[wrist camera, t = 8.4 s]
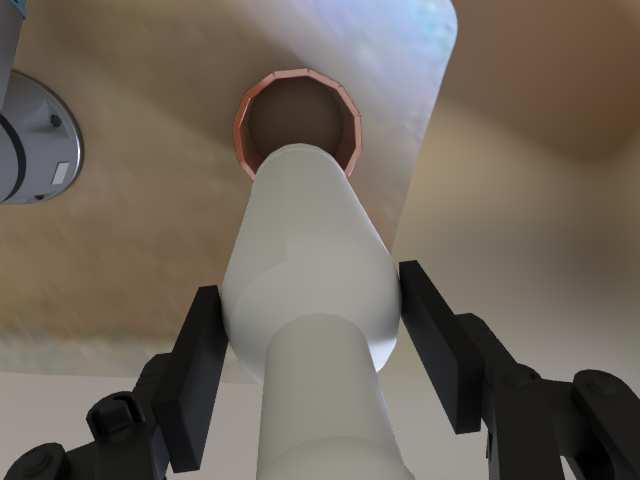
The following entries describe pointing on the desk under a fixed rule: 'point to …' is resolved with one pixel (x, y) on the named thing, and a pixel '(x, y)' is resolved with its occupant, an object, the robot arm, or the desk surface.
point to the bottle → (314, 322)
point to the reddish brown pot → (350, 114)
